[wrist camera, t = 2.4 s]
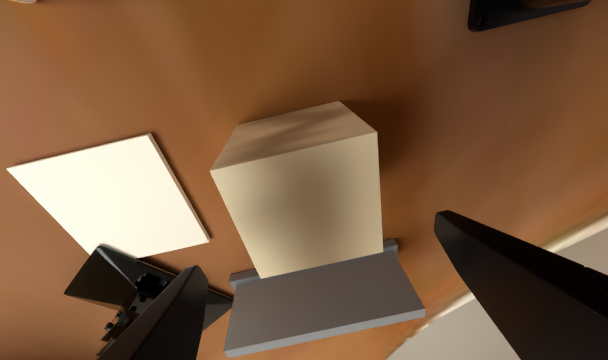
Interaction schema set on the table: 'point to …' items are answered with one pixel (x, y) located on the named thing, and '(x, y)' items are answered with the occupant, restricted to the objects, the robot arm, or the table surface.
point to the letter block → (303, 188)
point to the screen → (319, 302)
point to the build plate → (129, 290)
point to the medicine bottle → (25, 1)
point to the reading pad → (115, 197)
